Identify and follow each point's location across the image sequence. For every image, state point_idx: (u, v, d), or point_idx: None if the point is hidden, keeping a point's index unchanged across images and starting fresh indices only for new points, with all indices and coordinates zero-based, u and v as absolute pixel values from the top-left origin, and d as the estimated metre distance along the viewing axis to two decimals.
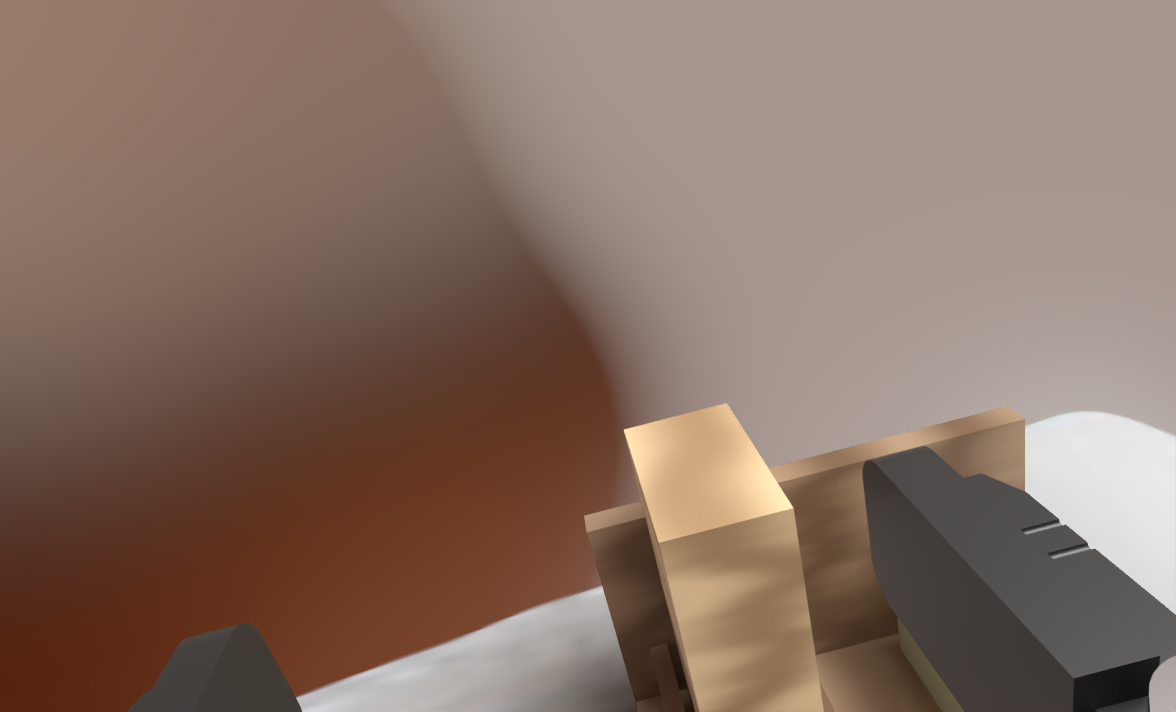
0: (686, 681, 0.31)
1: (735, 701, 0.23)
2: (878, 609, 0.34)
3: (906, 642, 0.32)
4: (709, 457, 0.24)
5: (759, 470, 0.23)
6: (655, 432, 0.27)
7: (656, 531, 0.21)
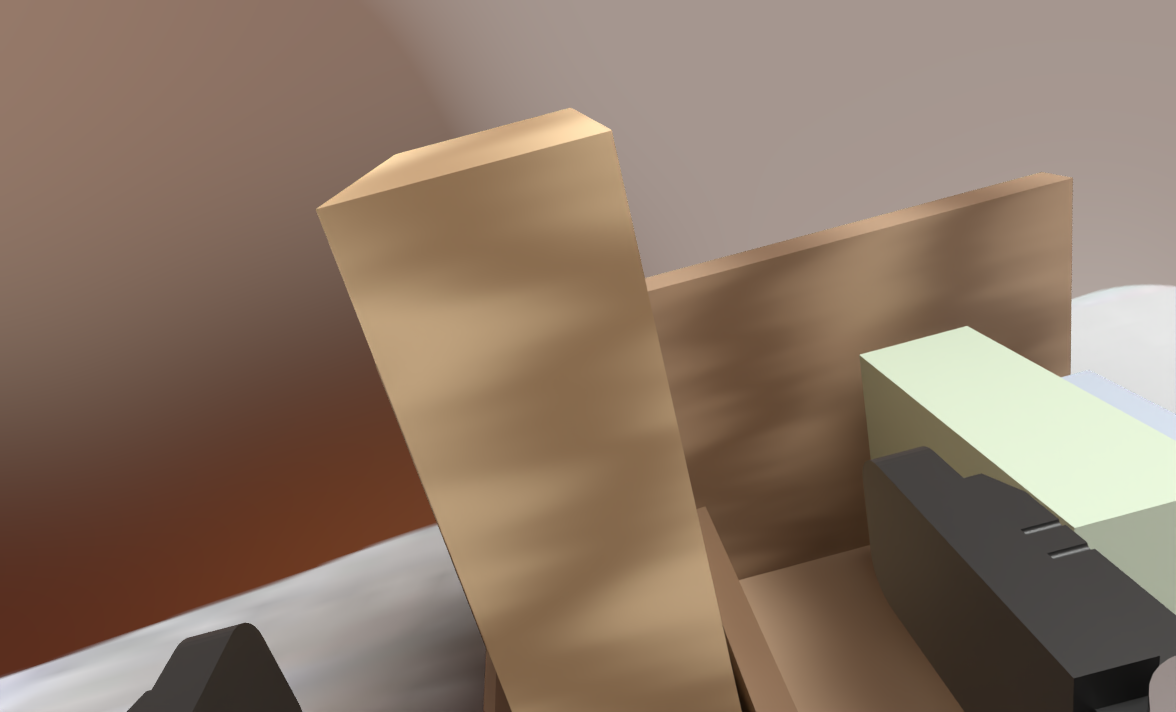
0: None
1: (542, 589, 0.12)
2: (847, 502, 0.22)
3: None
4: (501, 137, 0.13)
5: (576, 124, 0.12)
6: (438, 145, 0.15)
7: (327, 201, 0.10)
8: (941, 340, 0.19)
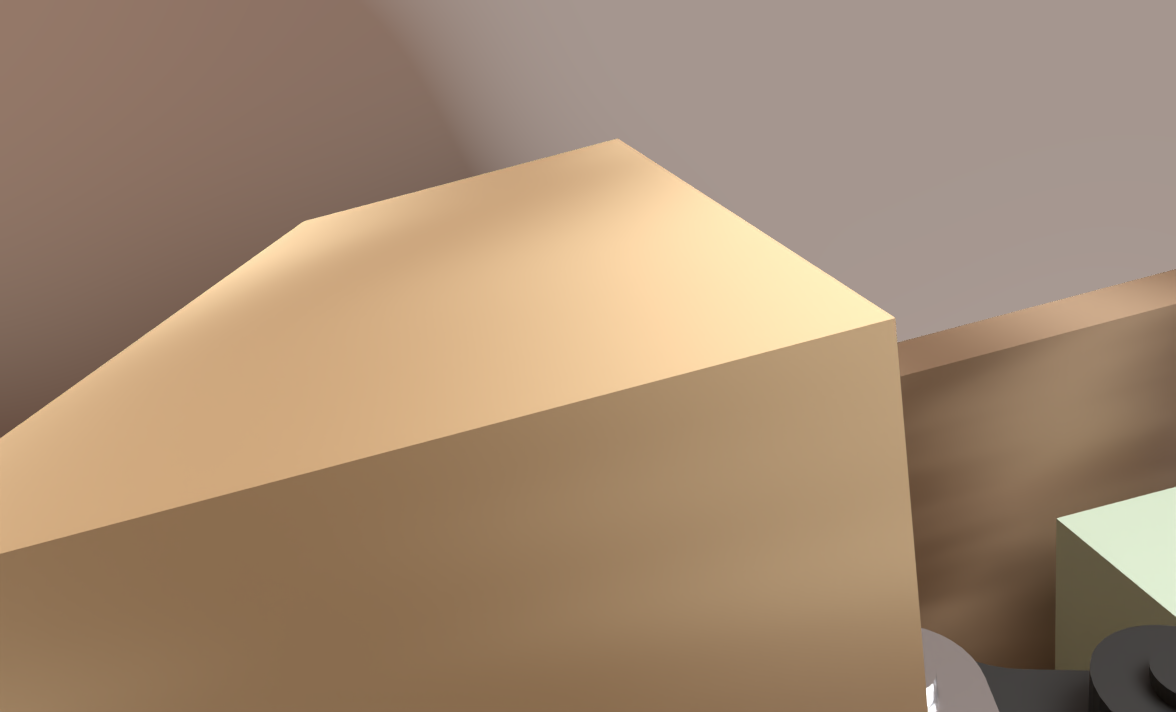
0: None
1: None
2: None
3: None
4: (488, 222, 0.06)
5: (674, 216, 0.04)
6: (376, 211, 0.08)
7: None
8: None
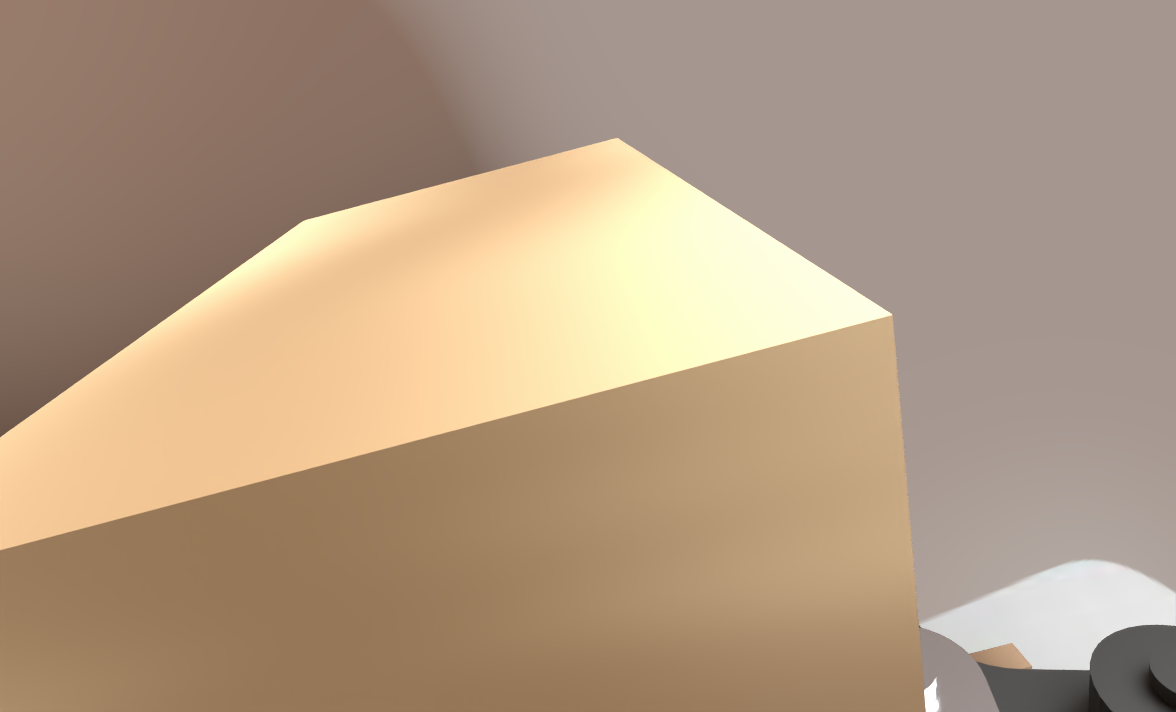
0: None
1: None
2: None
3: None
4: (487, 223, 0.06)
5: (674, 215, 0.05)
6: (375, 210, 0.08)
7: None
8: None
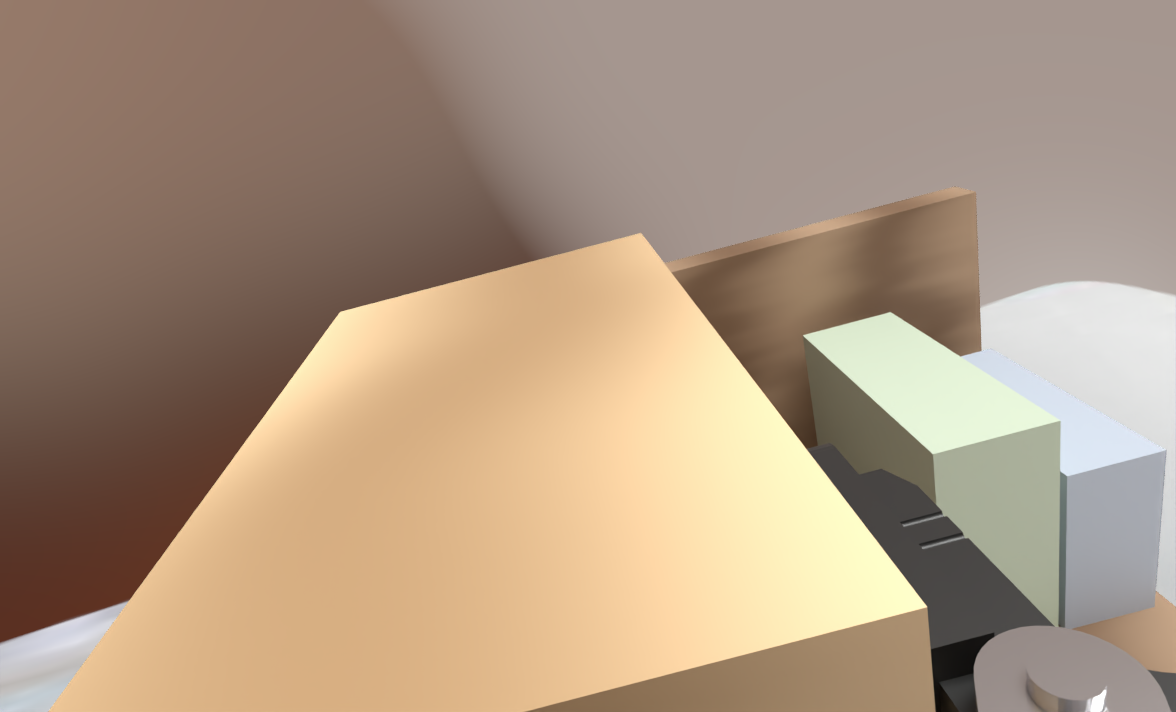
0: None
1: None
2: None
3: None
4: (529, 360, 0.06)
5: (712, 390, 0.05)
6: (412, 310, 0.09)
7: None
8: (868, 323, 0.23)
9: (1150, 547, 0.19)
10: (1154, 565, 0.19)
